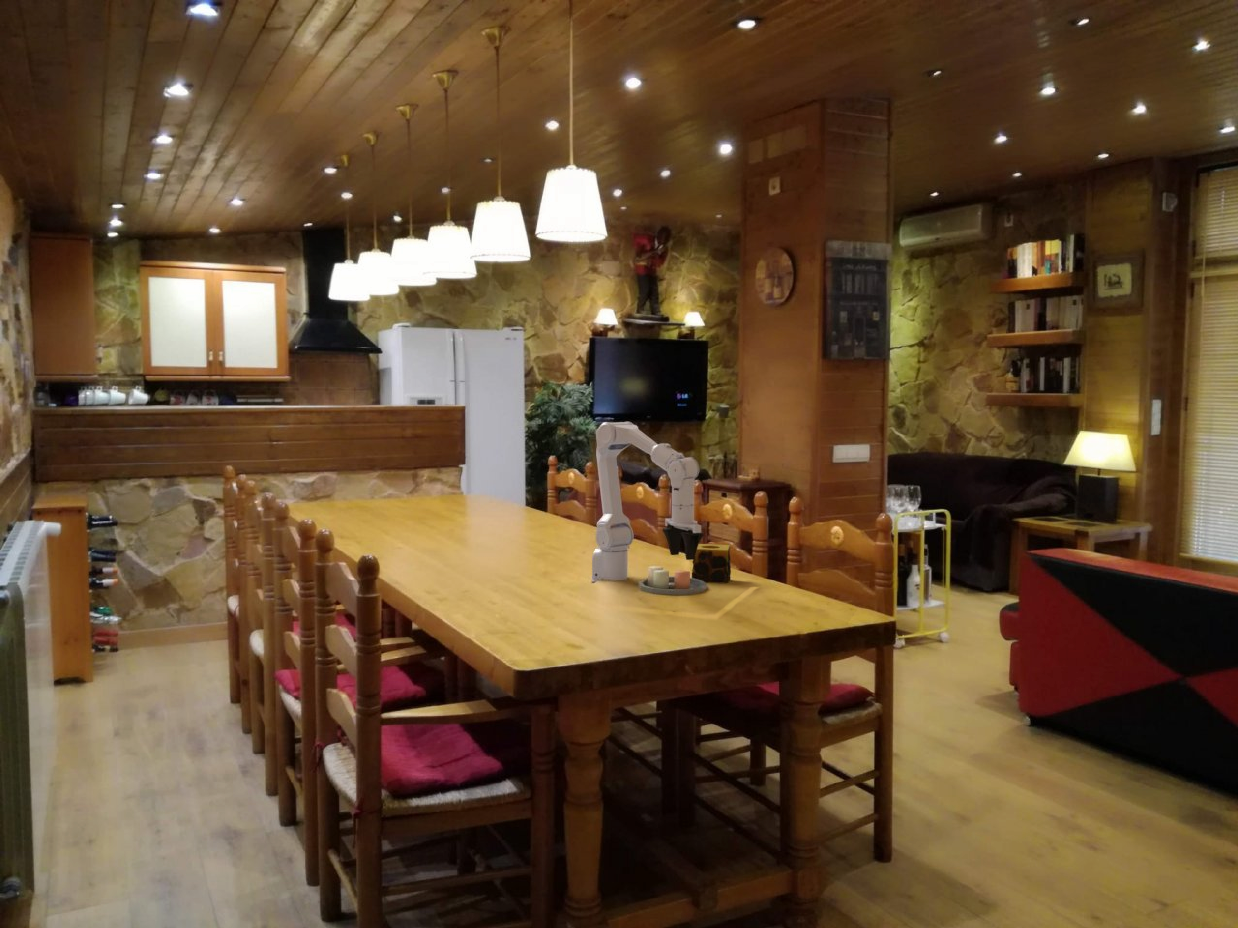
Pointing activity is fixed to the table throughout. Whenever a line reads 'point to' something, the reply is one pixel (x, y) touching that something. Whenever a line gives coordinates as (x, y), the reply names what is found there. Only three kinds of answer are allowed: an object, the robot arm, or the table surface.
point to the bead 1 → (652, 574)
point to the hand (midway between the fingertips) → (682, 557)
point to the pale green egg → (661, 579)
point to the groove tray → (695, 587)
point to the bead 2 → (682, 580)
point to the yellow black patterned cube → (712, 563)
